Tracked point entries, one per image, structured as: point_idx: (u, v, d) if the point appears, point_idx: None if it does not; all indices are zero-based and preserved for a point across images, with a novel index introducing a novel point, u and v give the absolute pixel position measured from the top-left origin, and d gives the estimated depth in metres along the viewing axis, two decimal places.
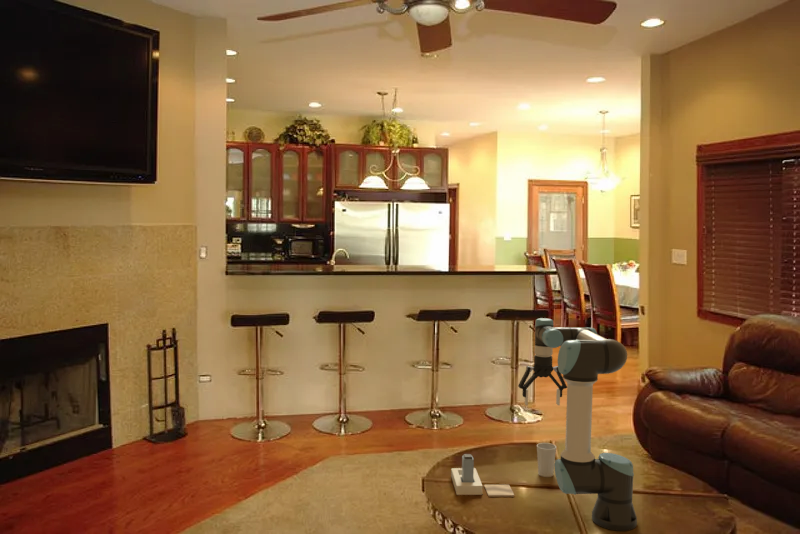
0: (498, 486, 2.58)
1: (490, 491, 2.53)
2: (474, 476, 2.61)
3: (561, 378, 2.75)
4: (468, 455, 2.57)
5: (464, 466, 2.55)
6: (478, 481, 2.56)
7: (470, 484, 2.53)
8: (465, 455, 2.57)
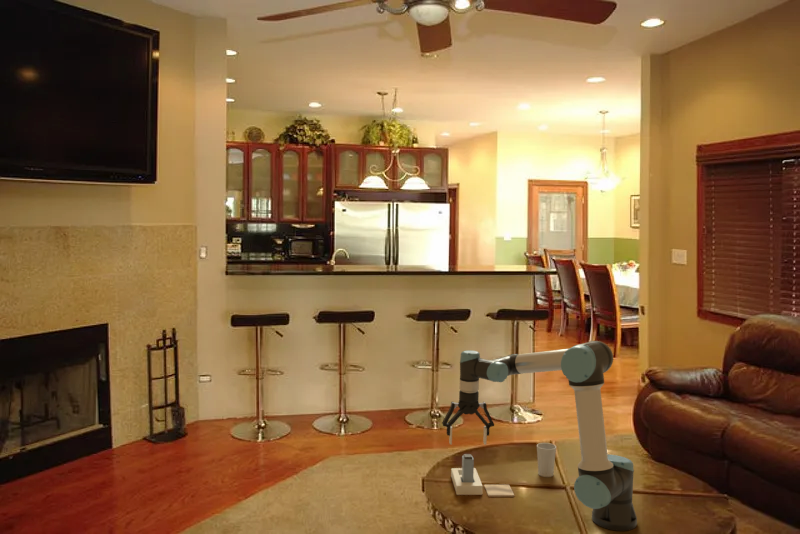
0: (498, 486, 2.58)
1: (490, 491, 2.53)
2: (474, 476, 2.61)
3: (488, 415, 2.55)
4: (468, 455, 2.57)
5: (464, 466, 2.55)
6: (478, 481, 2.56)
7: (470, 484, 2.53)
8: (465, 455, 2.57)
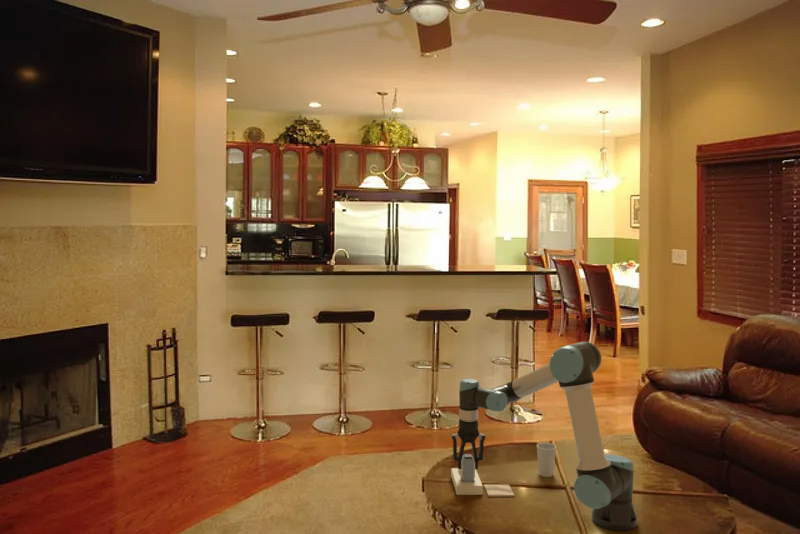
0: (498, 486, 2.58)
1: (490, 491, 2.53)
2: None
3: (481, 448, 2.55)
4: (468, 455, 2.57)
5: (464, 466, 2.55)
6: (478, 481, 2.56)
7: (470, 484, 2.53)
8: (465, 455, 2.57)
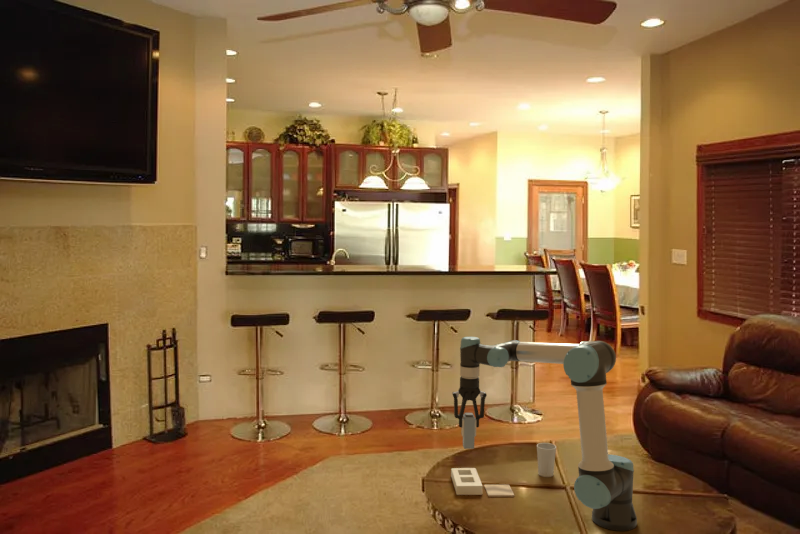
0: (498, 486, 2.58)
1: (490, 491, 2.53)
2: (474, 476, 2.61)
3: (482, 406, 2.54)
4: (469, 413, 2.55)
5: (465, 424, 2.54)
6: (478, 481, 2.56)
7: (470, 484, 2.53)
8: (466, 413, 2.55)
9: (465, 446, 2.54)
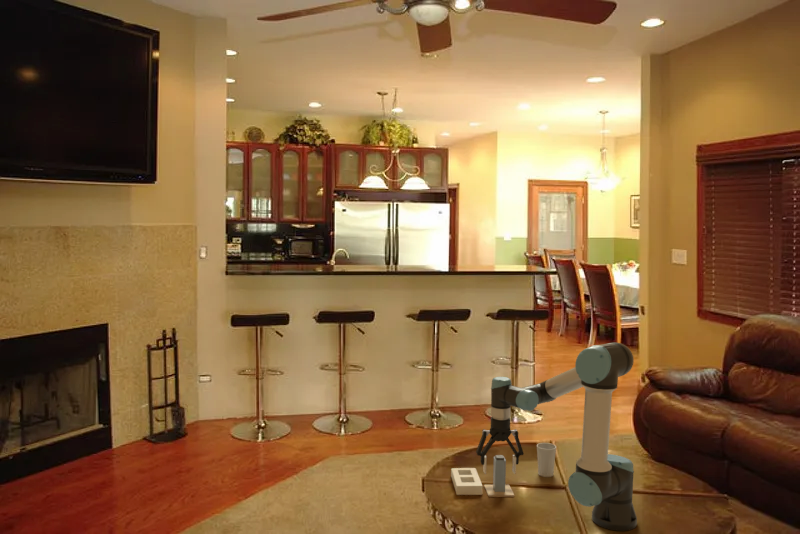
0: None
1: (490, 491, 2.53)
2: (474, 476, 2.61)
3: (518, 443, 2.53)
4: (500, 456, 2.54)
5: (496, 467, 2.52)
6: (478, 481, 2.56)
7: (470, 484, 2.53)
8: (497, 456, 2.54)
9: (496, 489, 2.53)
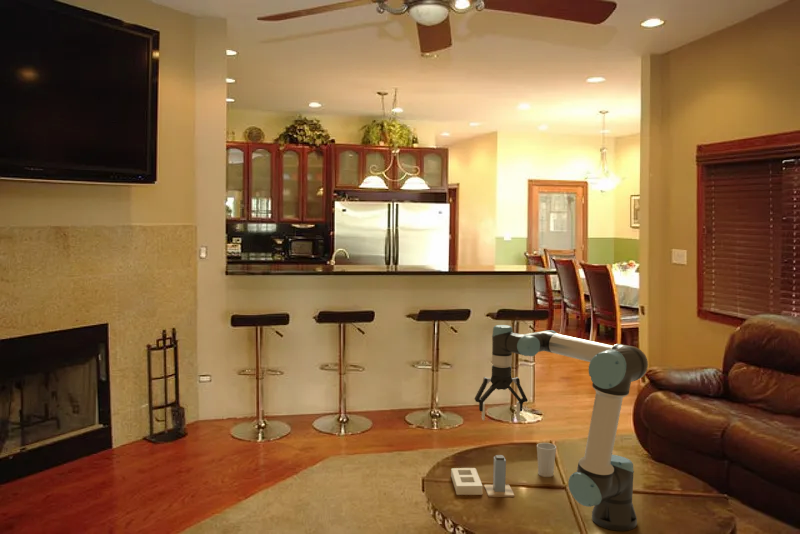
0: None
1: (490, 491, 2.53)
2: (474, 476, 2.61)
3: (521, 390, 2.51)
4: (500, 456, 2.54)
5: (496, 467, 2.52)
6: (478, 481, 2.56)
7: (470, 484, 2.53)
8: (497, 456, 2.54)
9: (496, 489, 2.53)
